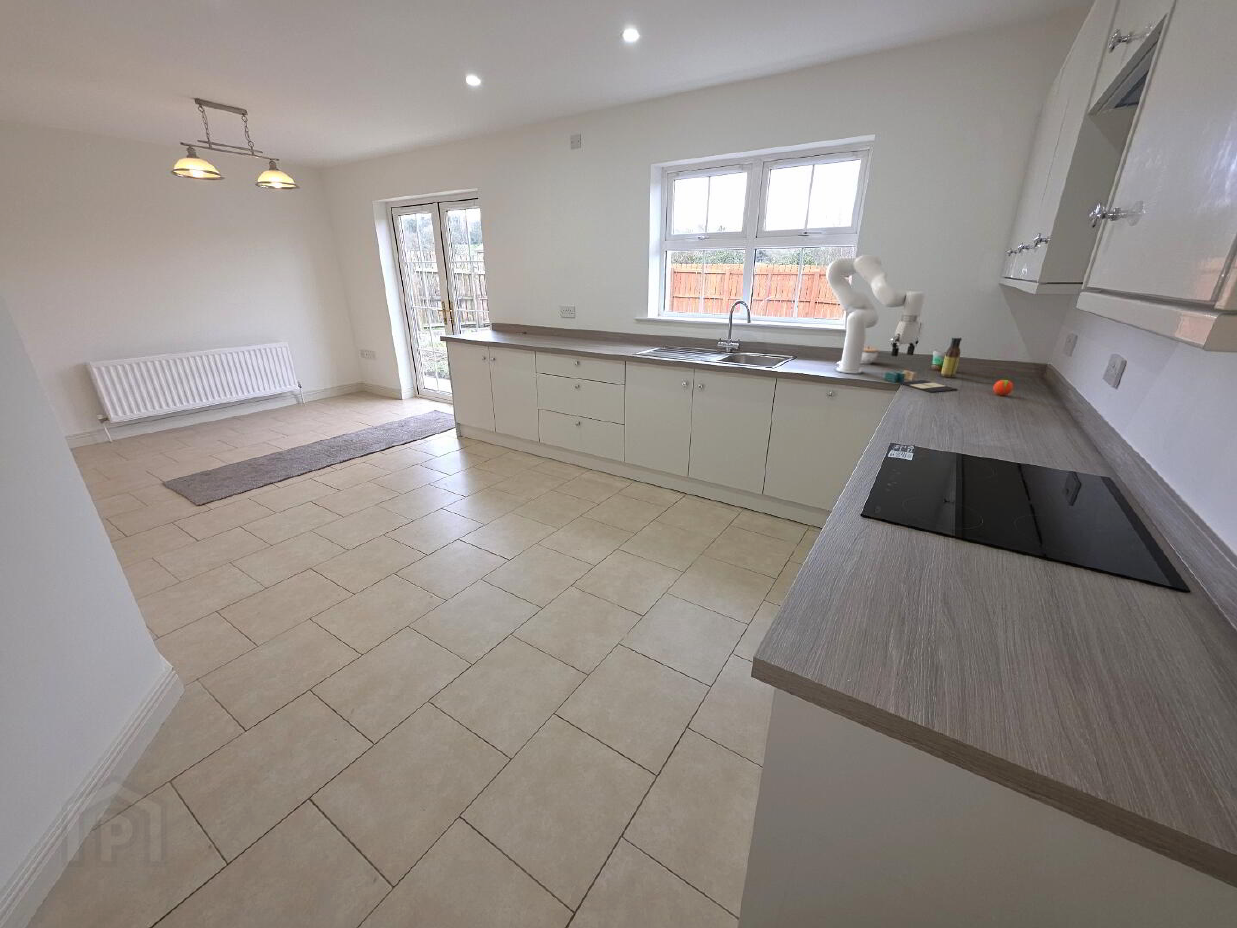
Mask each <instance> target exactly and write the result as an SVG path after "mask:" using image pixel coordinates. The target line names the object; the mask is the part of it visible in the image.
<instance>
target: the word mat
mask: <svg viewBox="0 0 1237 928" xmlns="http://www.w3.org/2000/svg"><path fill="white" fill-rule="evenodd" d="M898 384H899V385H903V386H906V387H910V388H913V389H916V390H920V391H924V392H927V393H932V394H933V393H942V392H951V391H958V388H955V387H951V386H948V385H943V384H940V383H936V382H932V381H929V380H925V379H923V380H922V379H921V380H914V381H903V382H900V381H898Z"/></svg>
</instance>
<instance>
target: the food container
mask: <svg viewBox="0 0 1237 928" xmlns="http://www.w3.org/2000/svg"><path fill="white" fill-rule="evenodd" d="M946 352H947V351H938V350H937V349H934V350H933V352H932V355H933V356H932V364H931V370H933V371H936V372H942V367H943V363H944V359H945V355H946Z"/></svg>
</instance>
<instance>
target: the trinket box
mask: <svg viewBox="0 0 1237 928" xmlns="http://www.w3.org/2000/svg"><path fill="white" fill-rule="evenodd" d="M878 353H879V349H877V348H874V347H870V345H868V346H867V347H864V349H863V353H862V358H861V363H860V364H867V365H870V364H872V363H873V362H874V361H875V360H876V359H877V357H878Z"/></svg>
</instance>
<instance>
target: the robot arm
mask: <svg viewBox="0 0 1237 928" xmlns="http://www.w3.org/2000/svg"><path fill="white" fill-rule="evenodd" d="M881 266H882V260H881V258H880V257H879V256H878V255H875V254H863V255H860V256H857V257H853V258H852V257H849V258H848V257H841V258H836V259H833V260H832V261H831V262H830V263H829V264H828V266H827V268H826V269H827V270H826V281H827V283H828V286H829V287H830V288H831V290H832V292H833V294H834V297H835V298H836V300H837V302H838V303H839V305H840V308H841V309H842V310H843V311H845V312H851V313H849V315H848V317H847V318H846V332H845V339H844V345H843V350H842V356H841V360H839V361H837V362H836V365H838V367H836V371H837V372H839V373H843V374H851V375H852V374H853V375H854V374H855V375H856V374H862V373H863V369H861V368H860V367H861V364H862V363H861V358H862V353H863V349H864V348H865V344H866V337H867V334H866V329H871V328H873V327H875V326H876V325H877V324H878V322H879V317H880V316H879V313H878V311H877V309H876V307H875V305H874V303H873V302H872V299H871V298H870V297H869V296H868V294H867V293H866V292H863V291H855V290H854V288H853V287H852V284H851V283H850V282H849V280H848V279H847V278H846V276H847V277H849V276H850V277H851V276H858V275H859V276H860V277H861V278H862V279H864V281H866V283H867V284H868V285H869V286H870V288H871V291H872V293H873V296H874V297H875V298H876V299H877V301H879V302H880V303H881V304H882V305H883V306H885V307H887V308H900V307H902V314H901V317H900V321H899V322H898V324H897V326H896V329H895V333H894V335H893V337H891V338H890V345H891V348H892V350H891V354H890V356H892V357H898V355H899V351H900V346H901V345H908V347H907V351H906V355H907V356H913V355H914V353H915V348H916V347H917V345H918V344H919V342H920V340H921V338H922V337H921V336H920V335H919V328H920V319H921V315H922V310H923V305H924V301H925V296H926V294H925V292H924V291H917V290H916V291H913V290H911V291H909V290H905V289H896V290H894V289H893V288H892V287H891V286H890V285H889V284H888V283H887V282H886V278H887V276H888V273H887V271H886V270H885V269H884V268H882V267H881Z"/></svg>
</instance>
